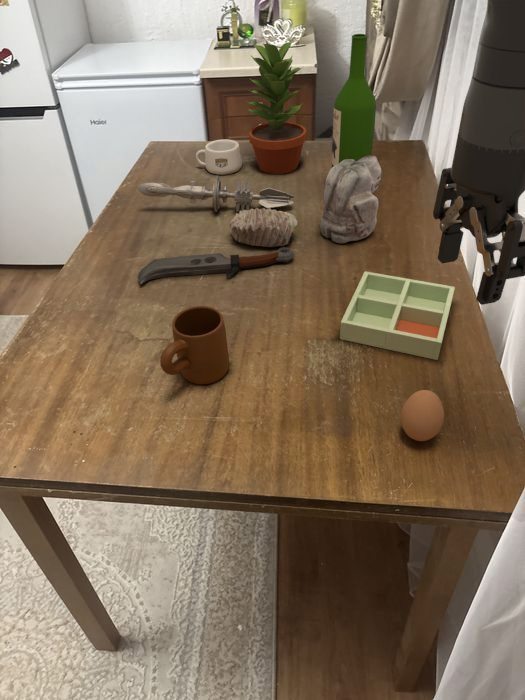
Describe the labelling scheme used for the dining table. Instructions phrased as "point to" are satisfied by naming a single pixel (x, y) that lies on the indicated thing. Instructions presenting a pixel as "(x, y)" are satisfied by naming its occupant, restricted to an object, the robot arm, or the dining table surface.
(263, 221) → the seashell
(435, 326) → the egg tray
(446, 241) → the robot arm
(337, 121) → the wine bottle
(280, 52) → the potted plant
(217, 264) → the knife
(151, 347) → the dining table surface
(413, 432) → the egg
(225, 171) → the mug
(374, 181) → the figurine
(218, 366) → the mug
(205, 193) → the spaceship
